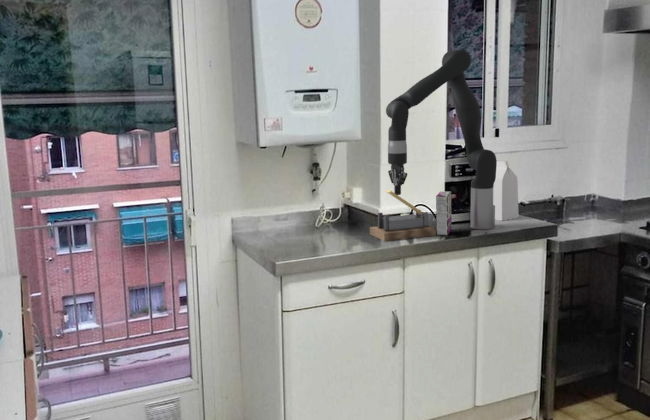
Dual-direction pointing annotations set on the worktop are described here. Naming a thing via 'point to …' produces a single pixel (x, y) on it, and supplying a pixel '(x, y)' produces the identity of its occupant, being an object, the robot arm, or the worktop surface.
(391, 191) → the strip
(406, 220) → the block
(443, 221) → the candy bar box
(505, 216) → the milk
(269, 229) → the worktop surface
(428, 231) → the walnut board
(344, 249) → the worktop surface
